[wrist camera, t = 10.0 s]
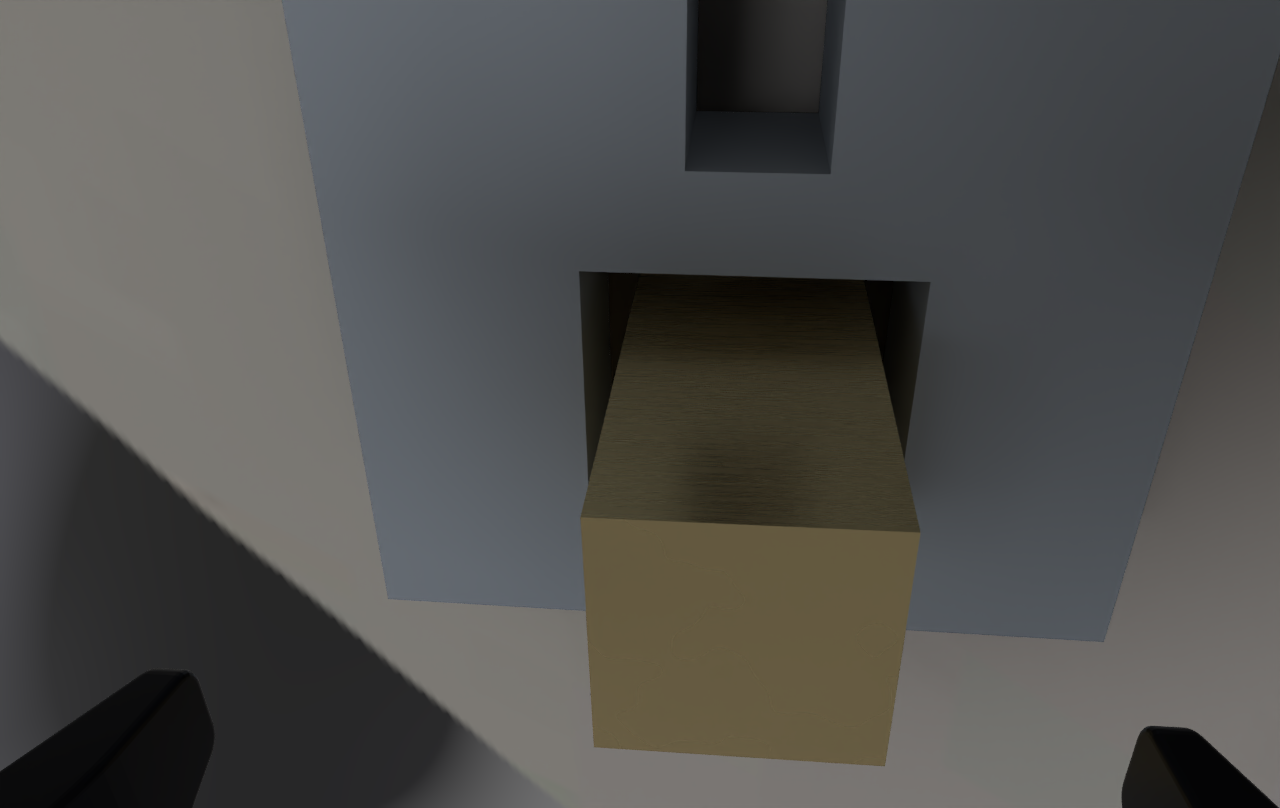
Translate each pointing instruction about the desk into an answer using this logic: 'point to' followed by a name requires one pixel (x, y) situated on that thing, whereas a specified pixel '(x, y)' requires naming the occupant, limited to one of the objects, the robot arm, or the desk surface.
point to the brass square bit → (748, 526)
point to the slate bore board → (780, 260)
